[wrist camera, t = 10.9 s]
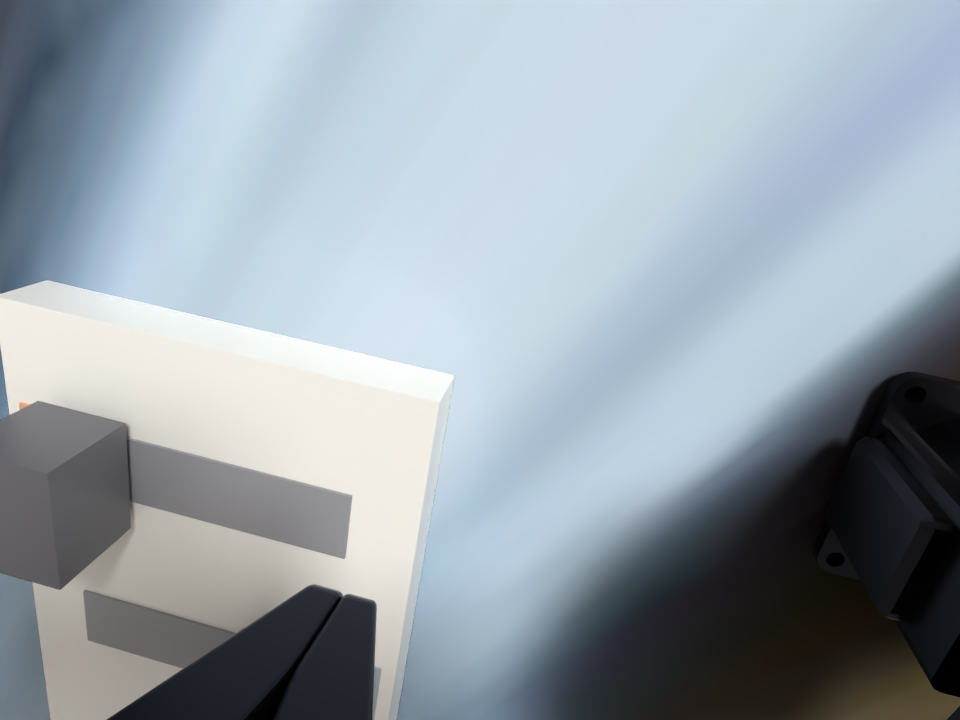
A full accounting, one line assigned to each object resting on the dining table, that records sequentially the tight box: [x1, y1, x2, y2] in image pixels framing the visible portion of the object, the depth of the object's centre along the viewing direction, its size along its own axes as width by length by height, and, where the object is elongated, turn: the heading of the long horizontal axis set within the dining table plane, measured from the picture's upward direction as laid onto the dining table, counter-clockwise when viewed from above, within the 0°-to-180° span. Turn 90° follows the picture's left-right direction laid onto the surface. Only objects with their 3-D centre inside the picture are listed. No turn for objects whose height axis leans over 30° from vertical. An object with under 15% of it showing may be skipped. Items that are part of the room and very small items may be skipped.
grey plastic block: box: [0, 401, 131, 590], centre depth 19 cm, size 3×4×3 cm
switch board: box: [0, 280, 455, 720], centre depth 24 cm, size 14×24×2 cm, turn 170°
